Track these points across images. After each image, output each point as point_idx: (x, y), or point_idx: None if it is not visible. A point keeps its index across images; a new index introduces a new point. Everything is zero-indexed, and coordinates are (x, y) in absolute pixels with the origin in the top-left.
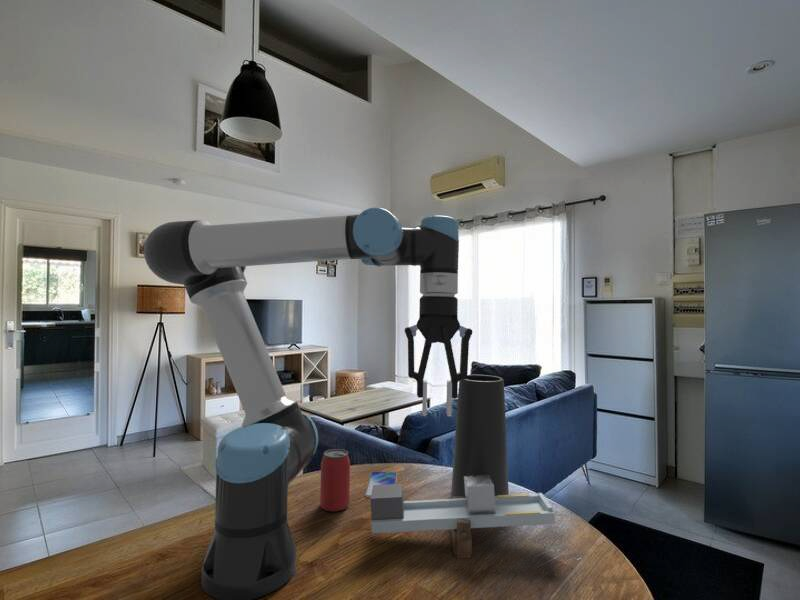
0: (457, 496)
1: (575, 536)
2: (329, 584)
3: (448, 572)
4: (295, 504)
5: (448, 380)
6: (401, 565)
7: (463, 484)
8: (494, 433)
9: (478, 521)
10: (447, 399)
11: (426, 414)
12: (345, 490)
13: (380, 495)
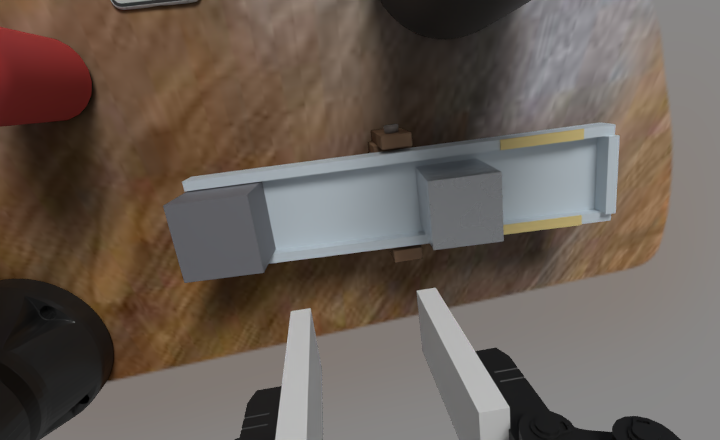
0: (396, 135)
1: (626, 114)
2: (183, 346)
3: (369, 279)
4: None
5: (491, 415)
6: (287, 278)
7: (412, 7)
8: None
9: None
10: (442, 381)
11: (321, 373)
12: (63, 99)
13: (205, 266)
